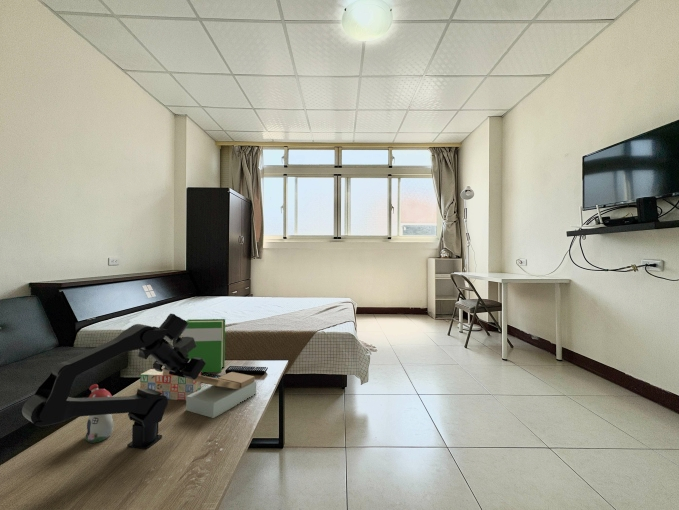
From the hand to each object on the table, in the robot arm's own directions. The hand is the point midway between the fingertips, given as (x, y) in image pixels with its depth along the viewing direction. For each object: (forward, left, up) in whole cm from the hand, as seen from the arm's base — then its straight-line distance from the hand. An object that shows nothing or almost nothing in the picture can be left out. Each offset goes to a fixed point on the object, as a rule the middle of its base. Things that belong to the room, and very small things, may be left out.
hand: (194, 377), depth 109 cm
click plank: (+10, -2, -6) cm, 12 cm away
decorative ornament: (-16, +21, -14) cm, 30 cm away
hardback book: (+43, +24, -14) cm, 52 cm away
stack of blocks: (+14, +19, -14) cm, 28 cm away
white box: (+13, -3, -14) cm, 19 cm away
